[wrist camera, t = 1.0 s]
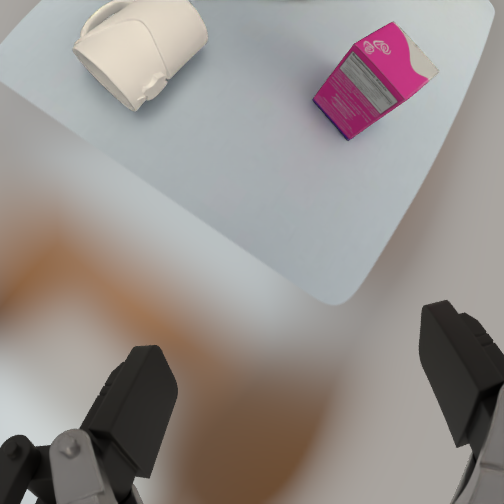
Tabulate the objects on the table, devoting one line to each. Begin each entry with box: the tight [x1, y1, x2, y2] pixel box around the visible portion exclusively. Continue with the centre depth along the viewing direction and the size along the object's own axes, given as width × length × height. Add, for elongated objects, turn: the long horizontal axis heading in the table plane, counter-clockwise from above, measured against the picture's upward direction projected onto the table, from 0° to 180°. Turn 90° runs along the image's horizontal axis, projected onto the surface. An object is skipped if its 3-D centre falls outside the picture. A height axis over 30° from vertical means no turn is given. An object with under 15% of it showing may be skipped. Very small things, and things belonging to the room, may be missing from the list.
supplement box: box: [312, 22, 439, 141], centre depth 25 cm, size 6×6×12 cm
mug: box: [73, 0, 208, 112], centre depth 24 cm, size 12×9×8 cm
